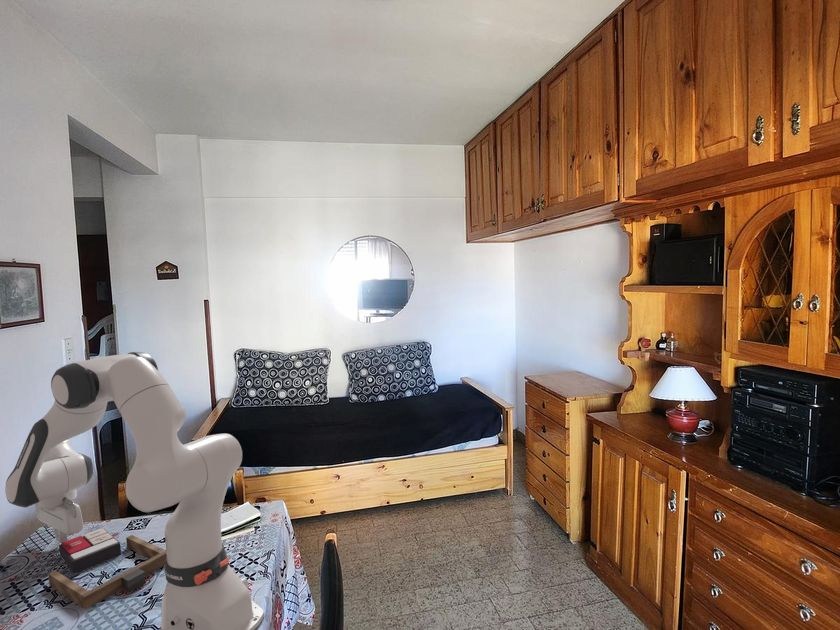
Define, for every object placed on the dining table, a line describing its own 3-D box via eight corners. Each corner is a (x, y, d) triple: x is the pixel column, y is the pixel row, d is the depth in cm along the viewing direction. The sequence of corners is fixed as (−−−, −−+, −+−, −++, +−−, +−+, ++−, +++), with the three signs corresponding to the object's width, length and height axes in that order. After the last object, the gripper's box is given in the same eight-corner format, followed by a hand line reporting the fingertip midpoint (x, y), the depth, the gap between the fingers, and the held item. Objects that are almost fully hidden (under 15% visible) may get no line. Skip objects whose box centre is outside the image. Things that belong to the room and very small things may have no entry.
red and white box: (103, 525, 137) (120, 540, 127) (105, 539, 137) (121, 555, 127) (58, 542, 128) (72, 558, 119) (59, 557, 128) (73, 575, 119)
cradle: (176, 565, 121) (175, 554, 121) (92, 613, 104) (90, 601, 103) (132, 544, 132) (131, 534, 131) (49, 585, 114) (48, 573, 114)
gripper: (87, 497, 129) (91, 544, 130) (54, 484, 139) (58, 527, 140) (61, 507, 123) (65, 556, 124) (29, 492, 134) (33, 537, 134)
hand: (61, 540), depth 132 cm, fingers closed
